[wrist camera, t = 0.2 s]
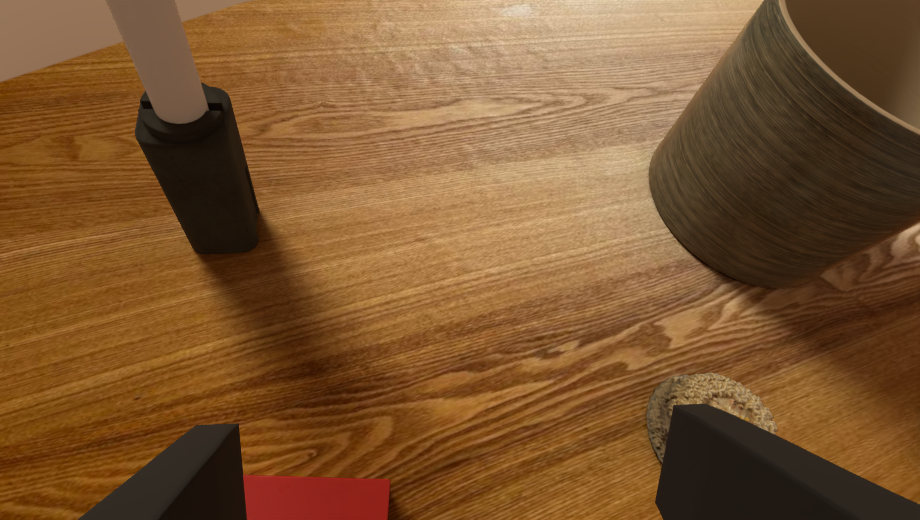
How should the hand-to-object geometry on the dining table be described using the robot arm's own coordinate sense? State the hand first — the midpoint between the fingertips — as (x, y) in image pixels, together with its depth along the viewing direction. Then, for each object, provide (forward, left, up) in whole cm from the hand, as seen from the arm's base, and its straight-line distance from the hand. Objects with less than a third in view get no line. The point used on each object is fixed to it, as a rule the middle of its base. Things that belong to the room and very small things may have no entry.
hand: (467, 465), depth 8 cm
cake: (+7, -26, -29) cm, 40 cm away
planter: (+32, -37, -29) cm, 57 cm away
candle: (+22, +14, -29) cm, 39 cm away
